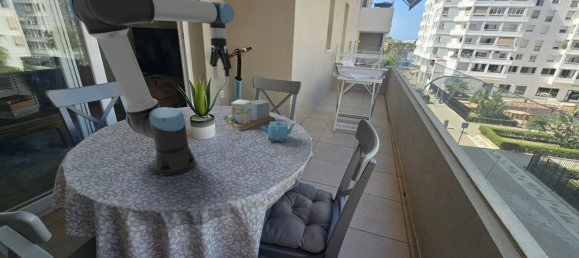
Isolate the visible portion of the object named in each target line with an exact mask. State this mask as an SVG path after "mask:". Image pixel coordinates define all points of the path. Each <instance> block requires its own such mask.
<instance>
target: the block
mask: <svg viewBox="0 0 579 258" xmlns="http://www.w3.org/2000/svg"><path fill="white" fill-rule="evenodd" d="M250 101H251V116H252V119H254V120H256V121H258V120H262V119H266V118H269V115H270V102H269V101H267V100H264V99H256V100H250Z"/></svg>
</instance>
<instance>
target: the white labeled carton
mask: <svg viewBox="0 0 579 258" xmlns="http://www.w3.org/2000/svg"><path fill="white" fill-rule="evenodd" d="M251 101H252V100H247V99H236V100H234V101H232V102H231V105H230V106H231V107H230V108H231V115H232V122H234V123H236V124H240V125H242V124H246V123H250V122H249V121H250V120H252V116H251Z"/></svg>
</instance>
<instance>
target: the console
mask: <svg viewBox="0 0 579 258" xmlns="http://www.w3.org/2000/svg"><path fill="white" fill-rule="evenodd" d="M228 119H232V118H228V115H225V116H223V120H224V121H225V122H227V120H228Z"/></svg>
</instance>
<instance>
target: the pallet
mask: <svg viewBox="0 0 579 258" xmlns="http://www.w3.org/2000/svg"><path fill="white" fill-rule="evenodd" d="M270 122H276V117H275V116H272V115H270V114H269V118H266V119H262V120H258V121H256V120H254V119H252V120H250V121H249V122H247V123H246V124H238V123H234V122H232V119H228V120H227V121H226V124H227V125H228V126H230V127H232V128H233V129H235V130H237V131H239V132H240V131H245V130H248V129H251V128H255V127H256V128H257V127H260V126H265V125H267V124H270Z"/></svg>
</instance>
